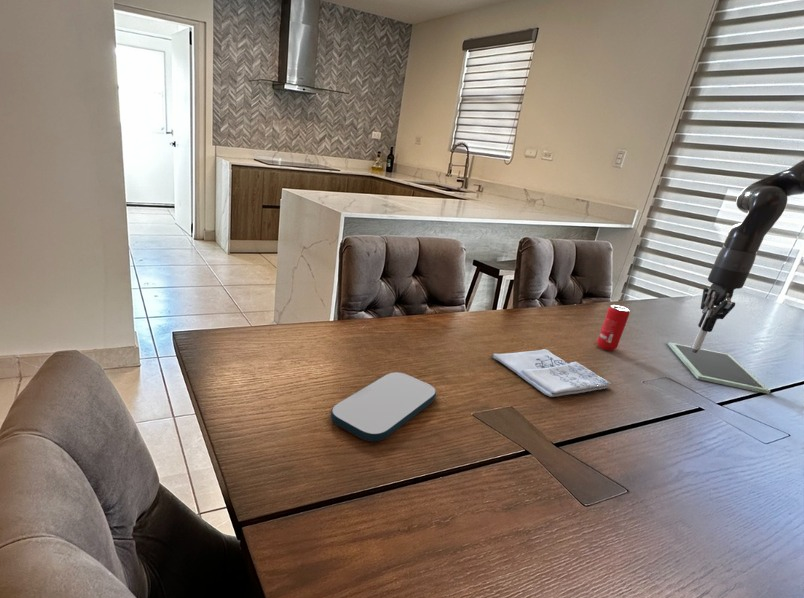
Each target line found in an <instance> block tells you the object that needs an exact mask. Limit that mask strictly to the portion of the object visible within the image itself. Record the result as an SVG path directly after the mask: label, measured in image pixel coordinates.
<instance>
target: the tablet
mask: <svg viewBox="0 0 804 598" xmlns="http://www.w3.org/2000/svg"><path fill="white" fill-rule="evenodd" d="M667 345H668V346H669V348H670V349H671V350H672V351H673V353H674V354H675V355H676V356H677V357H678V358H679V359H680V360H681V362H682V363H683V364H684V365H685V366H686V368H687V369H688V370H689V371H690V372H691V373H692V374H693V376H694V377H695V378H696V379H697V380H700V381H704V382H709V383H715V384H720V385H724V386H728V387H733V388H738V389H743V390H748V391H752V392H757V393H762V394H767V395H770V393H771V389H769V388H768V387H767V386H766V385H765V384H764V383H762V382H761V380H759V379H758V378H757V377H756V376H754V374H753V373H752V372H750V371H749V370H748V369H747V368H746V367H744V365H742V364H741V363H740V362H739V361H738V360H737V359H735V357H733V356H732V355H731V354H730V353H728V352H727V353H726V352H721V351H716V350H711V349H705V348H700V350H698V352H697V353H693V352H691V350H692V346H690V345H685V344H681V343H675V342H671V341H669V342H668V344H667Z"/></svg>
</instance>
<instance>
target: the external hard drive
mask: <svg viewBox="0 0 804 598" xmlns="http://www.w3.org/2000/svg"><path fill="white" fill-rule="evenodd" d="M436 396H437V390H436V388H435V387H434V386H433V385H431V384H429V383H427V382H425V381H423V380H421V379H419V378H416V377H414V376H412V375H409V374H407V373H404V372H400V371H395V372H389V373H387V374H385V375H383V376H381V377H380V378H378V379H376V380H375V381H373V382H371V383H369V384H368V385H365V386H364V387H363V388H361V389H359V390H357V391H356V392H354V393H352V394H351V395H349V396H347V397H345V398H344V399H342V400H341V401H339V402H337V403H336V404H335V405H333V407H332V408H331V411H330V419H331V421H332V423H333V424H335V425H336V426H337V427H339V428H340V429H341V428H342V429H343V430H345V431H346V432H348V433H351V434H352V435H353V436H356V437H358V438H359V439H361V440H363V441H366V442H371V443H373V442H380V441H383V440H384V439H387V438H388V437H389V436H391V435H392V434H393V433H394V432H396V431H397V430H399V429H400V428H401V427H402V426H404V425H405V424H406V423H408V422H409V421H410V420H411V419H413V418H414V417H415V416H417V415H418V414H419V413H421V412H422V411H424V410H425V408H427V407H429V406H430V405H431V404H432V403H433V402H434V401H435V399H436Z"/></svg>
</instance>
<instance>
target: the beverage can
mask: <svg viewBox="0 0 804 598" xmlns="http://www.w3.org/2000/svg"><path fill="white" fill-rule="evenodd" d="M629 316H630V309H629V308H628V307H626V306H623V305H618V304H610V307H608V309H607V312H606V315H605V318H604V321H603V324H602V326H601V329H600V332H599V335H598V337H597V340H596V343H597V347H598V348H599V349H601V350H604V351H608V352H614V351H615V350H616V349H617V348H618V346H619V343H620V341H621V338H622V335H623V332H624V330H625V327H626V325H627V322H628V318H629Z"/></svg>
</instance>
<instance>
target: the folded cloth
mask: <svg viewBox="0 0 804 598" xmlns="http://www.w3.org/2000/svg"><path fill="white" fill-rule="evenodd" d="M492 358H493V359H494V360H496V361H498V362H499V363H500V364H502V365H504V366H505V367H507V369H510V370H511V371H512V372H514V373H516V374H517V376H519V377H520V378H522V379H523V380H525V382H527V383H528V384H530V385H531V386H533V388H535V389H537V390H538V391H539V392H541V393H542V394H543V395H545V396H546V397H547V396H548V397H549V398H554V397H561V396H569V395H577V394H583V393H587V392H593V391H599V390H604V389H605V390H606V389H608V388H609V386H611V385H612V383H611V382H610V381H609V380H607V379H605V378H603V377H602V376H599V375H598V374H596V373H595V372H594V371H592V370H590V369H589V368H587V367H585V365H582V364H581V363H580V362H578V361H570V362H568V361H565V360H564V359H562V358H561V357H559V356H557V355H555V354H554V353H552V352H551V351H550V350H548V349H545V348H543V349H538V350H537V349H536V350H528V351H519V352H518V351H517V352H506V353H495V352H494V353H493V354H492Z"/></svg>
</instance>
